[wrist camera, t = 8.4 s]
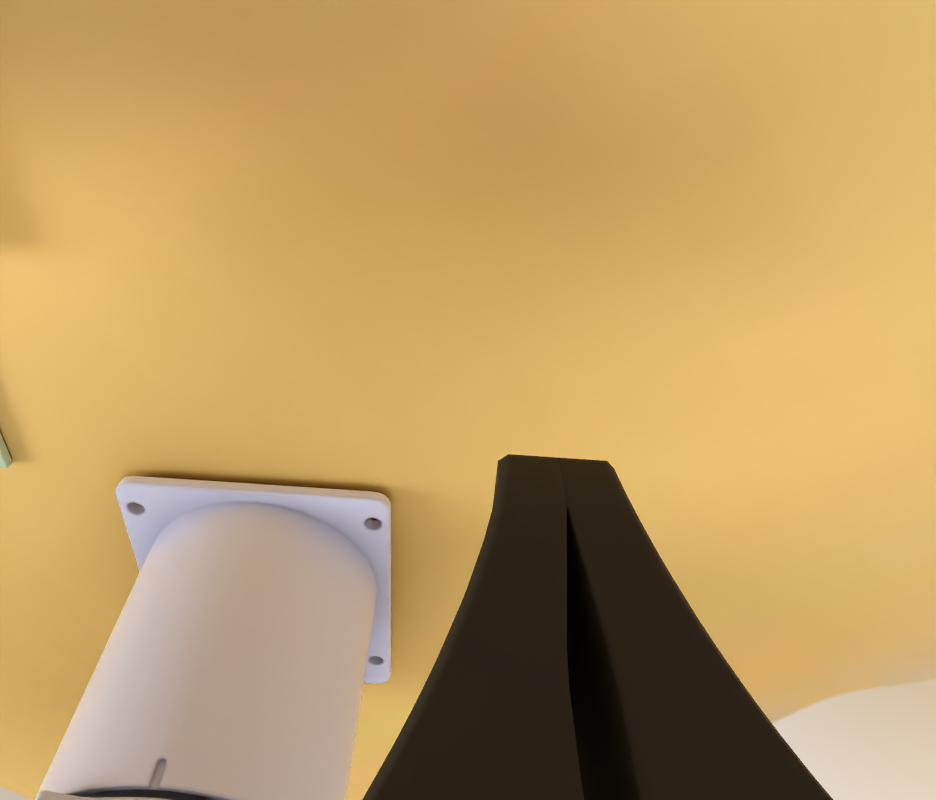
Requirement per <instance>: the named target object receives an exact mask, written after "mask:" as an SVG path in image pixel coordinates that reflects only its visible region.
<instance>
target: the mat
mask: <svg viewBox="0 0 936 800" xmlns="http://www.w3.org/2000/svg"><path fill="white" fill-rule="evenodd" d="M11 463H12V460H11V457H10V455H9V452H8V450H7V447H6V445H5V443H4V440H3V438H2V435H1V433H0V468H8V467H9V466H10V464H11Z"/></svg>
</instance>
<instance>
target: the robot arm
mask: <svg viewBox="0 0 936 800" xmlns="http://www.w3.org/2000/svg"><path fill="white" fill-rule="evenodd" d="M116 497H117V500H118V503H119V506H120V509H121V513H122V516H123V519H124V522H125V526H126V529H127V532H128V535H129V539H130V542H131V545H132V548H133V551H134V555H135V558H136V561H137V564H138V568H139V571H140V573H139V575H138V577H137V580H136V582H135V584H134V586H133V588H132V590H131V593H130V595H129V597H128V599H127V601H126V603H125V606H124V608H123V610H122V612H121V614H120V616H119V619H118V621H117V623H116V625H115V627H114V629H113V632H112V634H111V636H110V638H109V640H108V642H107V645H106V647H105V649H104V651H103V653H102V655H101V657H100V660H99V662H98V664H97V666H96V668H95V670H94V673H93V675H92V677H91V679H90V681H89V683H88V686H87V688H86V690H85V692H84V694H83V696H82V699H81V701H80V703H79V705H78V707H77V709H76V712H75V714H74V716H73V718H72V720H71V722H70V725H69V727H68V729H67V731H66V733H65V735H64V738H63V740H62V742H61V744H60V746H59V748H58V750H57V753H56V755H55V757H54V759H53V761H52V763H51V766H50V768H49V770H48V772H47V774H46V776H45V779H44V781H43V783H42V785H41V787H40V789H39V792H38V794H37V796H36V798H35V799H34V800H346V794H347V788H348V781H349V775H350V768H351V762H352V755H353V749H354V742H355V735H356V729H357V722H358V716H359V709H360V703H361V696H362V689H363V683H374V684H379V683H384V682H386V681H388V680H389V678H390V675H391V503H390V500H389V499H388V498H387V496H385V495H383V494H382V493H379V492H373V491H358V490H343V489H327V488H312V487H297V486H281V485H266V484H251V483H236V482H220V481H205V480H190V479H175V478H159V477H144V476H127V477H125V478H122V480H121V481H120V483H119V484H118V486H117V488H116ZM137 503H139V504H137ZM140 504H141V505H140ZM369 518H376V519H378V520H371V519H369ZM363 800H833V799H832V798H831V797H830V795H829V794H828V793H827V792H826V791H825V790H824V788H823V787H822V786H821V785H820V784H819V782H818V781H817V780H816V779H815V778H814V776H813V775H812V774H811V773H810V772H809V770H808V769H807V768H806V767H805V765H804V764H803V763H802V761H800V759H799V758H798V757H797V755H796V754H795V753H794V752H793V750H792V749H791V748H790V747H789V745H788V744H787V743H786V741H785V740H784V739H783V738H782V736H781V735H780V734H779V733H778V731H777V730H776V729H775V727H774V726H773V725H772V723H771V722H770V721H769V719H768V718H767V717H766V715H765V714H764V713H763V711H762V710H761V709H760V707H759V706H758V705H757V703H756V702H755V701H754V699H753V698H752V697H751V695H750V694H749V692H748V691H747V690H746V688H745V687H744V686H743V684H742V683H741V681H740V680H739V678H738V677H737V676H736V674H735V673H734V671H733V670H732V668H731V667H730V665H729V664H728V663H727V661H726V660H725V658H724V657H723V655H722V654H721V653H720V651H719V650H718V648H717V647H716V645H715V644H714V642H713V641H712V639H711V638H710V636H709V635H708V633H707V632H706V630H705V629H704V627H703V626H702V624H701V623H700V621H699V620H698V618H697V616H696V615H695V613H694V612H693V610H692V608H691V607H690V605H689V603H688V602H687V600H686V599H685V597H684V595H683V594H682V592H681V591H680V589H679V587H678V586H677V584H676V582H675V581H674V579H673V578H672V576H671V574H670V573H669V571H668V569H667V568H666V566H665V564H664V563H663V561H662V559H661V557H660V556H659V554H658V552H657V551H656V549H655V547H654V545H653V543H652V542H651V540H650V538H649V536H648V534H647V533H646V531H645V529H644V527H643V525H642V523H641V522H640V520H639V518H638V516H637V514H636V512H635V510H634V508H633V506H632V504H631V503H630V501H629V499H628V497H627V495H626V493H625V491H624V489H623V487H622V485H621V482H620V480H619V478H618V476H617V474H616V472H615V470H614V468H613V467H612V466H611V465H610V464H609V463H608V462H607V461H599V460H584V459H568V458H553V457H538V456H523V455H507V456H505V457H504V458H502V459H500V460H499V461H498V467H497V475H496V484H495V493H494V501H493V509H492V513H491V517H490V520H489V524H488V528H487V531H486V535H485V538H484V542H483V544H482V547H481V550H480V553H479V556H478V559H477V562H476V565H475V567H474V570H473V573H472V576H471V579H470V582H469V585H468V587H467V590H466V593H465V595H464V598H463V600H462V603H461V605H460V607H459V610H458V612H457V614H456V617H455V619H454V621H453V624H452V626H451V628H450V630H449V633H448V635H447V637H446V640H445V642H444V644H443V647H442V649H441V651H440V654H439V656H438V658H437V660H436V662H435V664H434V667H433V669H432V671H431V673H430V675H429V677H428V679H427V681H426V683H425V685H424V687H423V689H422V691H421V693H420V695H419V697H418V699H417V701H416V703H415V705H414V707H413V709H412V711H411V713H410V715H409V717H408V719H407V721H406V722H405V724H404V726H403V728H402V730H401V732H400V734H399V736H398V738H397V740H396V741H395V743H394V745H393V747H392V749H391V750H390V752H389V754H388V756H387V757H386V759H385V761H384V763H383V765H382V766H381V768H380V770H379V772H378V773H377V775H376V777H375V779H374V780H373V782H372V784H371V786H370V787H369V789H368V791H367V793H366V794H365V796H364V798H363Z"/></svg>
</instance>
